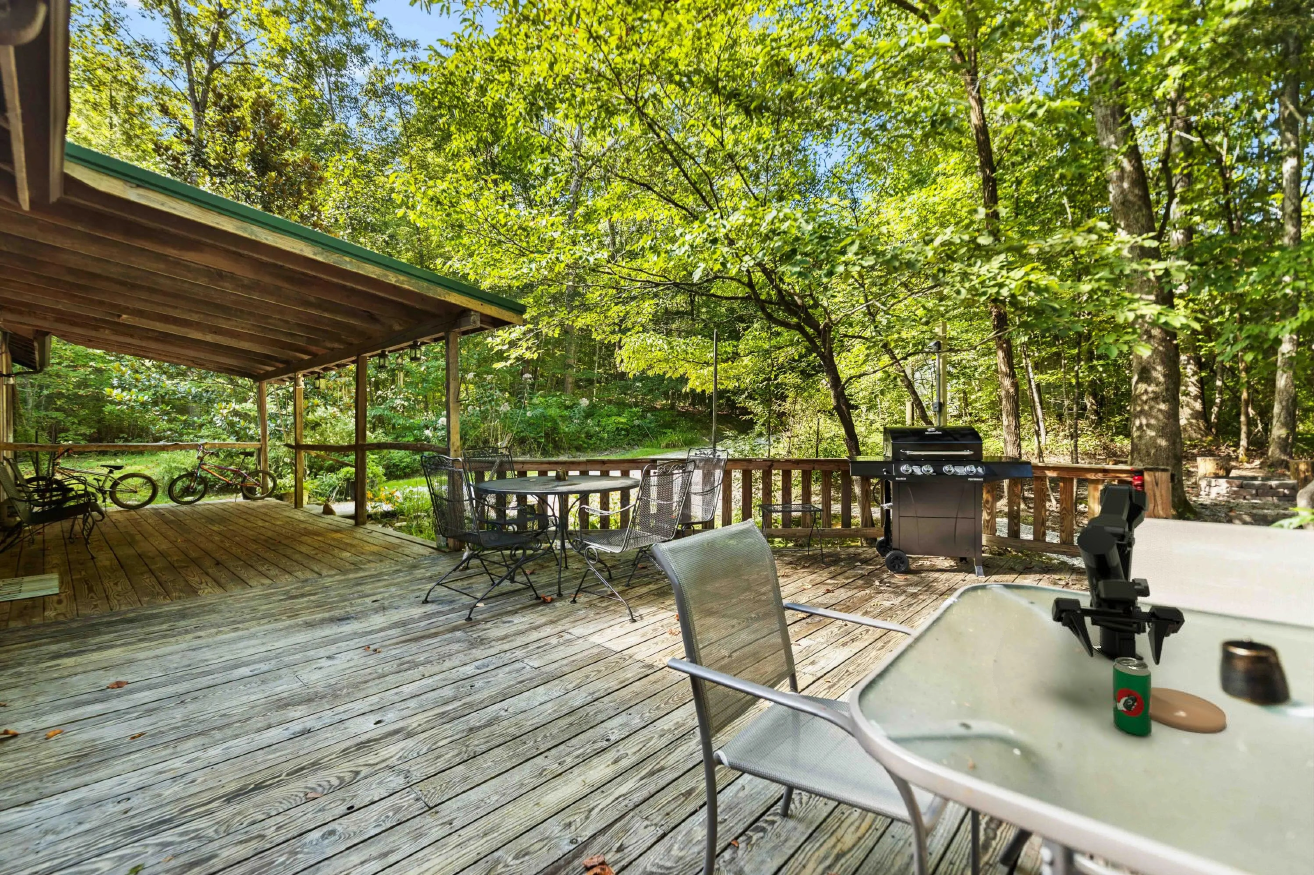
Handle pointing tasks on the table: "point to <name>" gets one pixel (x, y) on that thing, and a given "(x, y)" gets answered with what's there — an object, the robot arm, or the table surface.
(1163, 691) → the terracotta plate
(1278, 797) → the table surface
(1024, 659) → the table surface
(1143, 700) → the soda can
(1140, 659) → the robot arm
